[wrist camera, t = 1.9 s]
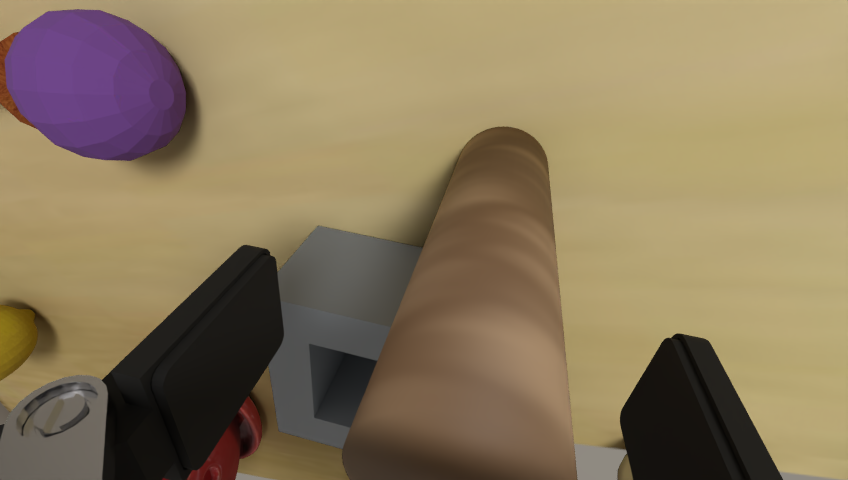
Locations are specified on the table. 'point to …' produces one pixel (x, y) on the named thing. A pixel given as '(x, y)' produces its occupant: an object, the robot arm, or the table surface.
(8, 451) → the robot arm
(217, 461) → the plant pot
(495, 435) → the peg
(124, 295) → the table surface
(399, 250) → the socket
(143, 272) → the table surface
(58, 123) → the purple maraca
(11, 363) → the lemon
